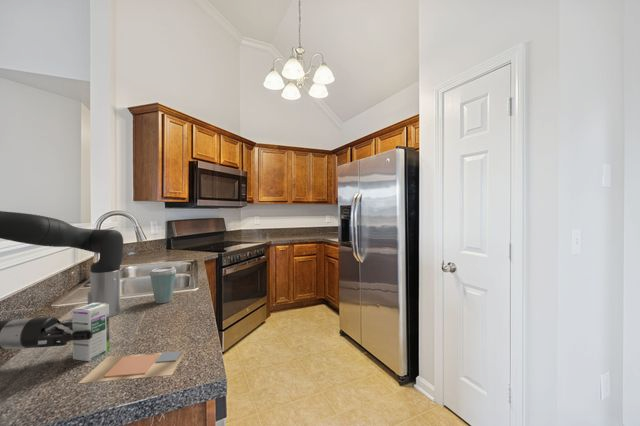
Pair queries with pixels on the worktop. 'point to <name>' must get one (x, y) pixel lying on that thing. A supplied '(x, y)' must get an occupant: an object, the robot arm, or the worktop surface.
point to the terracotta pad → (132, 365)
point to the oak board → (153, 371)
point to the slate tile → (169, 356)
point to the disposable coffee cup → (163, 283)
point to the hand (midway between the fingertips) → (100, 328)
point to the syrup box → (98, 322)
